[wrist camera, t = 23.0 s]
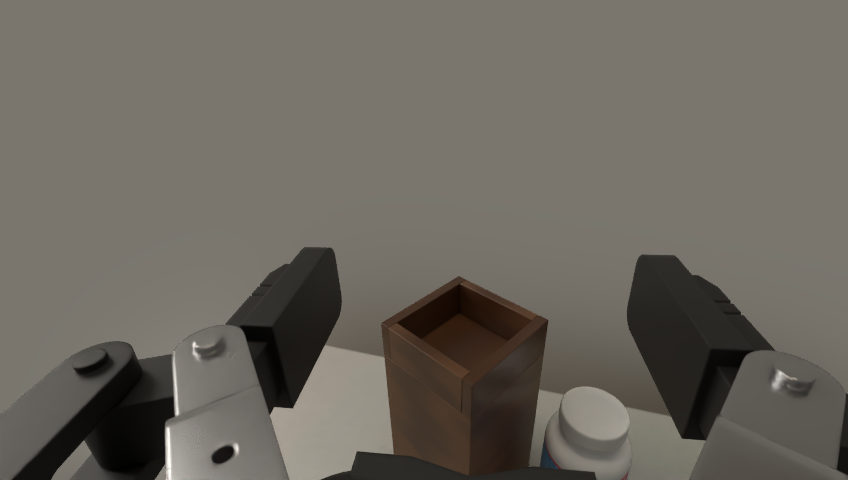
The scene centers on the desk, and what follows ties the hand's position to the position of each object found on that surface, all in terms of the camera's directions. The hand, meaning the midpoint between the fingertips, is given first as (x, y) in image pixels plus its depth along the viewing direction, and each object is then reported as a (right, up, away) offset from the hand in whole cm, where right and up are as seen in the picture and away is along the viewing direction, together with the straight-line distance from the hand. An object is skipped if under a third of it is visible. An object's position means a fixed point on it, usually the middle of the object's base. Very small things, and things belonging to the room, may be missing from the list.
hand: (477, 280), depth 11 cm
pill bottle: (+11, -21, +24) cm, 33 cm away
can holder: (+2, -20, +26) cm, 33 cm away
